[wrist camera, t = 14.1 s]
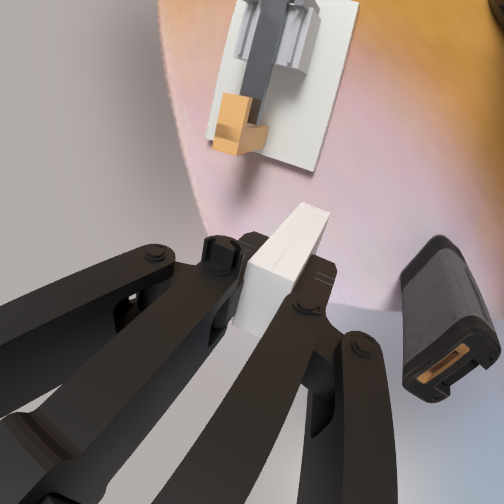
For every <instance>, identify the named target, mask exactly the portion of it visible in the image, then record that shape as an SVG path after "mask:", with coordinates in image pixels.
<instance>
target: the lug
mask: <svg viewBox="0 0 504 504" xmlns="http://www.w3.org/2000/svg"><path fill="white" fill-rule="evenodd" d="M252 99H253V98H250V97H246V96H241V95H236V94H231V93H224V92H223V96H222V101H221V105H220V110H219V115H218V120H217V125H216V130H215V135H214V141H213V146H212V149H213V150H217V151H220V152H224V153H227V154H231V155H234V156H238V155H241V154H245V153H248V152H251V151H255V150H258V149H262V148H264V145H265V141H266V137H267V133H268V129H269V126H265V125H262V124H259V125H254V124H250V123H247V121H248V117H249V112H250V108H251V104H252Z"/></svg>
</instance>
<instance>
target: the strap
mask: <svg viewBox="0 0 504 504" xmlns="http://www.w3.org/2000/svg"><path fill="white" fill-rule="evenodd" d="M294 1H295V0H263V4H262V7H261V11H260V14H259V18H258V22H257V26H256V29H255V33H254V37H253V41H252V45H251V49H250V53H249V57H248V61H247V65H246V69H245V73H244V77H243V81H242V86H241V90H240V94H239V95H241V96H246V97H250V98H253V99H252V104H251V108H250V112H249V117H248V121H247V123H250V124H254V125H259V122H260V118H261V114H262V110H263V106H264V102H265V98H266V94H267V90H268V86H269V82H270V78H271V74H272V70H273V66H274V62H275V58H276V54H277V50H278V46H279V42H280V39H281V35H282V31H283V27H284V23H285V20H286V16H287V12H288V9H289V5H290V3H292V4H294Z"/></svg>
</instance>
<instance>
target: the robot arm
mask: <svg viewBox="0 0 504 504" xmlns="http://www.w3.org/2000/svg"><path fill="white" fill-rule="evenodd" d="M489 3H490V6H491V9H492V11H493V13H494V15H495V17H496V19H497V21H498V23H499V24H500V26H501V27H502V29H503V30H504V0H489ZM329 216H330V212H327V211H325V210H322V209H319V208H317V207H314V206H312V205H309V204H307V203H304V202H301V203H300V205H299V206H298V207H297V208H296V209H295V210H294V211H293V212H292V213H291V215H290V216H289V217H288V218H287V219H286V220H285V221H284V222H283V223H282V224H281V226H280V227H279V228H278V229H277V230H276V231H275V232H274V233H273V234H272V236H271V237H267V236H265V235H262V234H260V233H257V232H255V231H254V232H250V233H247V234H244V235H243V236H242V237H241V238H240V239H239V240H236V239H234V238H231V237H227V236H221V235H215V236H209V237H207V238H205V239H204V246H203V252H202V259H201V262H199V263H198V264H197V265H189V264H185V263H180V262H176V261H175V253H174V251H173V250H172V249H171V248H169V247H167V246H165V245H161V244H148V245H144V246H141V247H139V248H136V249H134V250H131V251H128V252H126V253H123V254H121V255H118V256H116V257H113V258H110V259H108V260H106V261H103V262H101V263H98V264H96V265H93V266H91V267H88V268H86V269H84V270H81V271H79V272H76V273H74V274H71V275H69V276H67V277H64V278H62V279H60V280H58V281H55V282H53V283H50V284H48V285H46V286H44V287H41V288H39V289H37V290H35V291H32V292H30V293H28V294H25V295H23V296H21V297H19V298H17V299H14V300H12V301H10V302H8V303H6V304H4V305H2V306H0V418H2V417H4V416H5V415H7V414H9V413H11V412H13V411H15V410H17V409H18V408H20V407H22V406H24V405H26V404H27V403H29V402H31V401H33V400H35V399H36V398H38V397H40V396H42V395H44V394H45V393H47V392H49V391H51V390H52V389H54V388H56V387H58V386H59V385H61V384H62V385H61V386H60V387H59V388H58V389H57V390H56V391H55V392H54V393H53V394H52V395H51V396H50V397H49V398H48V399H47V400H46V401H45V402H44V403H42V404H41V405H40V406H39V407H38V408H37V409H36V410H34V411H32V412H30V413H25V412H15V413H12V414H9V415H7V416H6V417H4V418H3V419H1V420H0V504H98V503H99V502H100V500H101V499H102V498H103V496H104V494H105V491H106V487H107V485H108V483H109V482H110V480H111V479H112V478H113V477H114V475H115V474H116V473H117V472H118V470H119V469H120V468H121V467H122V466H123V464H124V463H125V462H126V461H127V459H128V458H129V457H130V456H131V455H132V453H133V452H134V451H135V450H136V448H137V447H138V446H139V445H140V443H141V442H142V441H143V440H144V438H145V437H146V436H147V435H148V433H149V432H150V431H151V430H152V428H153V427H154V426H155V424H156V423H157V422H158V421H159V419H160V418H161V417H162V416H163V414H164V413H165V412H166V410H167V409H168V408H169V407H170V405H171V404H172V403H173V402H174V400H175V399H176V398H177V396H178V395H179V394H180V393H181V391H182V390H183V389H184V387H185V386H186V385H187V383H188V382H189V381H190V379H191V378H192V377H193V376H194V374H195V373H196V372H197V370H198V369H199V368H200V366H201V365H202V364H203V362H204V361H205V360H206V358H207V357H208V356H209V354H210V353H211V352H212V350H213V349H214V348H215V346H216V345H217V344H218V342H219V341H220V340H221V338H222V337H223V336H224V334H225V332H226V329H227V325H228V322H229V321H230V320H231V318H232V317H233V316H234V318H233V321H232V325H234V326H236V327H238V328H240V329H242V330H244V331H246V332H248V333H250V334H253V335H255V336H257V337H259V338H261V340H260V341H259V343H258V344H257V346H256V348H255V349H254V351H253V353H252V354H251V356H250V358H249V359H248V361H247V362H246V364H245V366H244V367H243V369H242V371H241V372H240V374H239V375H238V377H237V379H236V380H235V382H234V383H233V385H232V387H231V388H230V390H229V391H228V393H227V394H226V396H225V398H224V399H223V401H222V402H221V404H220V405H219V407H218V408H217V410H216V412H215V413H214V415H213V416H212V418H211V419H210V421H209V422H208V424H207V425H206V427H205V428H204V430H203V431H202V433H201V434H200V436H199V437H198V439H197V440H196V442H195V443H194V444H193V446H192V447H191V449H190V450H189V452H188V453H187V455H186V456H185V458H184V459H183V460H182V462H181V463H180V465H179V466H178V467H177V469H176V470H175V472H174V473H173V475H172V476H171V477H170V479H169V480H168V481H167V483H166V484H165V486H164V487H163V489H162V490H161V491H160V492H159V494H158V495H157V496H156V498H155V499H154V500H153V502H152V503H151V504H244V503H245V501H246V499H247V497H248V496H249V494H250V492H251V490H252V488H253V486H254V484H255V482H256V480H257V478H258V476H259V475H260V472H261V471H262V468H263V467H264V465H265V463H266V460H267V458H268V456H269V454H270V452H271V450H272V448H273V446H274V444H275V441H276V439H277V437H278V435H279V433H280V431H281V428H282V426H283V424H284V422H285V419H286V417H287V415H288V412H289V410H290V408H291V405H292V403H293V401H294V398H295V396H296V393H297V391H298V388H299V386H300V383H301V384H302V385H304V386H305V387H306V388H308V389H309V390H308V396H307V412H306V424H305V435H304V445H303V456H302V465H301V473H300V482H299V490H298V498H297V504H398V490H397V489H398V488H397V467H396V451H395V439H394V429H393V420H392V411H391V403H390V396H389V389H388V382H387V376H386V371H385V364H384V359H383V353H382V350H381V348H380V345H379V344H378V343H377V341H376V340H375V339H374V338H373V337H371V336H370V335H368V334H366V333H363V332H361V331H350V332H347V333H346V334H345V335H344V334H342V333H341V332H340V331H338V330H337V329H336V328H335V327H333V326H332V324H331V323H330V322H329V321H328V319H327V317H326V312H325V311H326V306H327V303H328V300H329V297H330V294H331V290H332V287H333V284H334V281H335V278H336V274H337V269H336V266H335V263H333V262H330V261H328V260H326V259H323V258H321V257H318V256H316V255H315V254H316V251H317V248H318V246H319V243H320V240H321V238H322V235H323V232H324V230H325V227H326V224H327V222H328V219H329ZM135 293H136V298H135V299H132V300H129V296H131V295H133V294H135Z"/></svg>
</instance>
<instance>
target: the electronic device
mask: <svg viewBox="0 0 504 504" xmlns="http://www.w3.org/2000/svg"><path fill="white" fill-rule="evenodd" d="M401 291H402V310H403V376H402V385H403V387H404V388H405V389H406V390H407V391H409V392H410V393H412V394H413V395H415V396H416V397H418V398H420V399H421V400H423V401H425V402H428V403H437V402H440V401H442V400H444V399H445V398H447V397H448V396H450V386H451V385H452V384H454V383H455V382H456V381H458V380H459V379H461V378H462V377H464V376H465V375H466V374H468V373H469V372H470V371H472V370H473V369H474V368H476V367H477V366H478V365H479V364H480V365H481V366H482V367H483V368H484V369H486V370H487V369H488V368H489V367H490V366H492V365H493V364H494V363H495V361H496V360H497V359H498V358H499V356H500V354H501V347H500V343H499V341H498V338H497V335H496V332H495V329H494V326H493V323H492V321H491V318H490V315H489V312H488V309H487V307H486V305H485V302H484V300H483V297H482V295H481V293H480V290H479V288H478V286H477V284H476V282H475V279H474V277H473V276H472V274H471V272H470V269H469V267H468V265H467V263H466V261H465V259H464V257H463V255H462V253H461V252H460V250H459V249H458V248H457V247H456V246H455V245H454V244H453V243H452V242H451V241H450V240H449V239H448V238H447V237H445V236H444V235H436V236H434V237H432V238H431V239H430V240H429V241H428V243H427V244H426V245H425V246H424V247H423V248H422V250H421V251H420V252H419V253H418V254H417V255H416V256H415V258H414V259H413V260H412V261H411V262H410V263H409V264H408V265H407V266H406V268H405V269H404V270H403V271H402V273H401Z"/></svg>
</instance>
